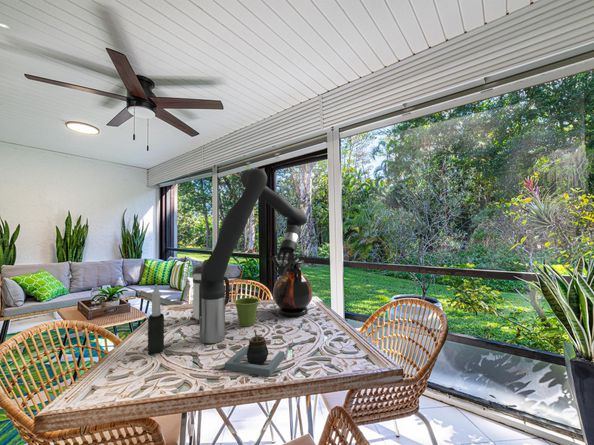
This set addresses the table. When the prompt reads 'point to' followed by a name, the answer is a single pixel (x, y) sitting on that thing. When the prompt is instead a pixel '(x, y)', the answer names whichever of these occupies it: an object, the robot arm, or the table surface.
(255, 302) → the plant pot
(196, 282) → the coffee press
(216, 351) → the table surface
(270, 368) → the frame
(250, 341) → the mate gourd
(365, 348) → the table surface
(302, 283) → the amphora vase
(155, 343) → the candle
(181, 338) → the table surface
